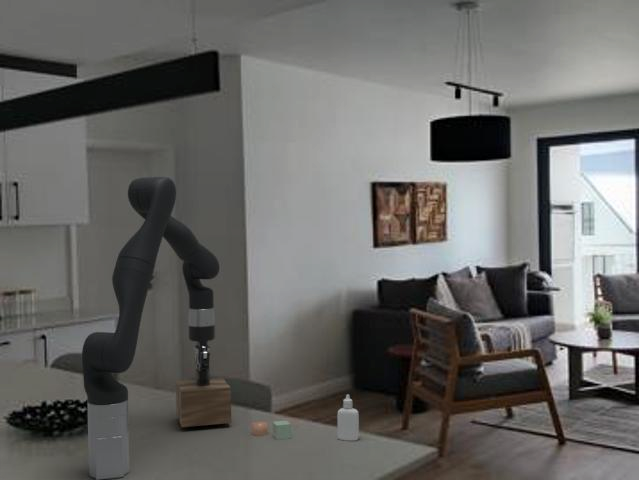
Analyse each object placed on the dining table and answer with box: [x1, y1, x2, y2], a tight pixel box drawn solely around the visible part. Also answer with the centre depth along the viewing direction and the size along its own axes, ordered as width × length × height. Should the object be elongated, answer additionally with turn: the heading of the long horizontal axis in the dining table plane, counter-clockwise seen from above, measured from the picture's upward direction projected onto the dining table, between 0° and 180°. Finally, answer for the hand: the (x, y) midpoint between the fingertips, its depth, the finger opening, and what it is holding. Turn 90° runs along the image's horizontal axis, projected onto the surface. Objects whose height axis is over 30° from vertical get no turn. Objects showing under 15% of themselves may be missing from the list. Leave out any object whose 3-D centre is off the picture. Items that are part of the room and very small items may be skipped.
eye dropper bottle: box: [336, 394, 360, 442], centre depth 197 cm, size 4×6×12 cm
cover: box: [175, 367, 232, 428], centre depth 213 cm, size 14×14×14 cm
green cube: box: [272, 419, 292, 440], centre depth 199 cm, size 4×4×4 cm
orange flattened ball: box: [251, 420, 269, 437], centre depth 202 cm, size 4×4×3 cm
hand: (202, 382), depth 213 cm, fingers closed on cover, 3 cm apart
